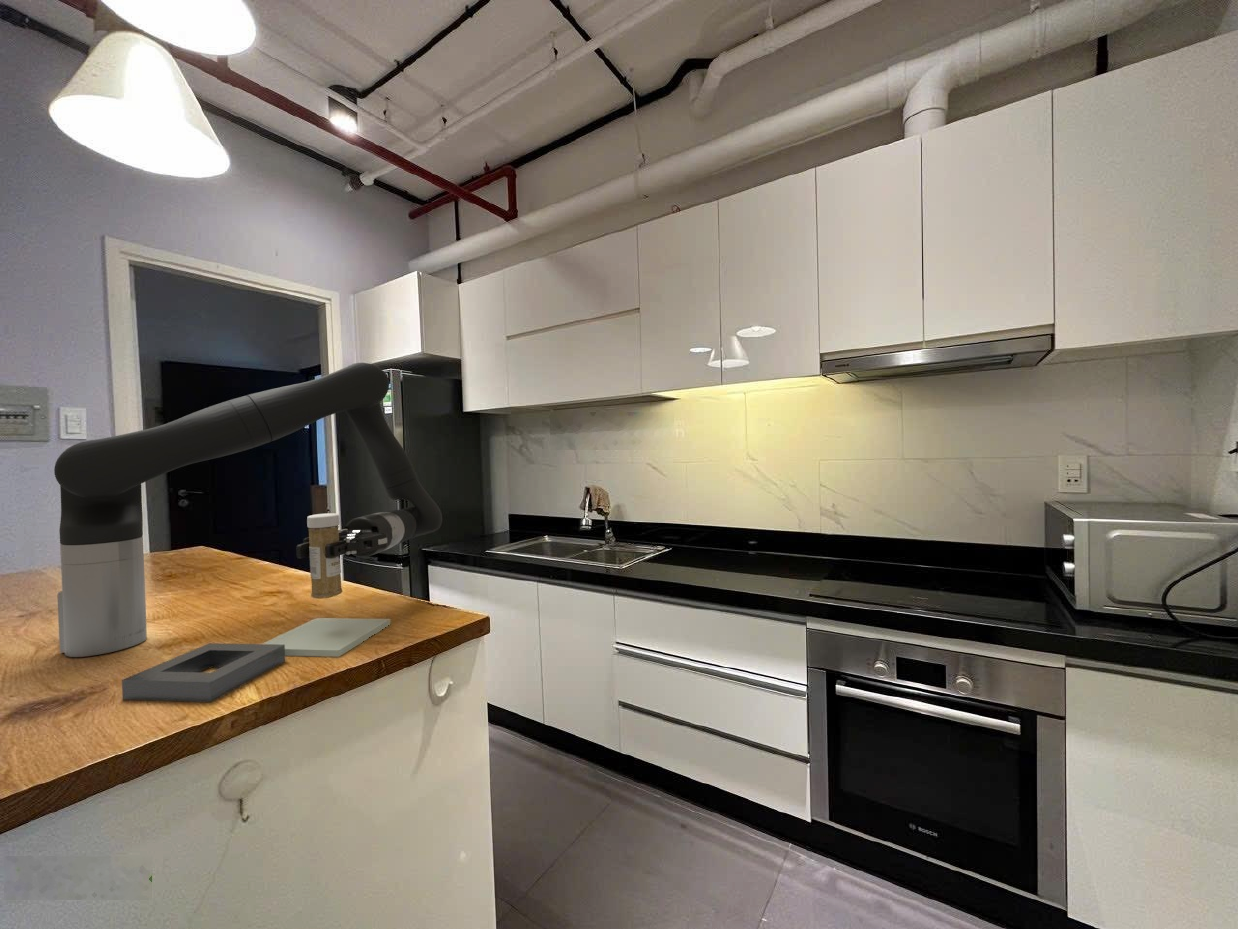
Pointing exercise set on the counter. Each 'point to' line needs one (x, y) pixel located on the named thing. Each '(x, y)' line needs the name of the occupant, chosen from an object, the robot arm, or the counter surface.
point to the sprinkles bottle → (323, 568)
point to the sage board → (328, 636)
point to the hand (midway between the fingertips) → (313, 551)
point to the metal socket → (189, 685)
